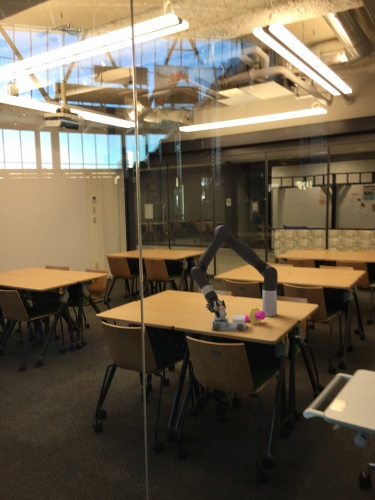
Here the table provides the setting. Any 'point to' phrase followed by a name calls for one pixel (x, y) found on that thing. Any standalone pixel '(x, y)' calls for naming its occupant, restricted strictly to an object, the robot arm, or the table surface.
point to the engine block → (222, 314)
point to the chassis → (230, 324)
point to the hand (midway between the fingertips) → (222, 316)
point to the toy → (255, 316)
